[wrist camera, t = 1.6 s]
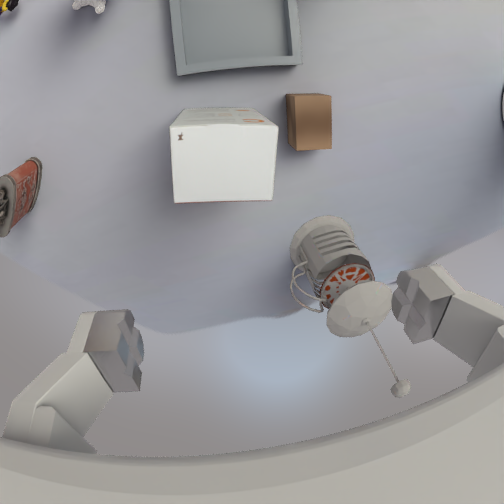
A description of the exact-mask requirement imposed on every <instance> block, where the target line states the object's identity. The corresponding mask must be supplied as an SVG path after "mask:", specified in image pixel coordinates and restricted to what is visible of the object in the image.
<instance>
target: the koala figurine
mask: <svg viewBox="0 0 504 504" xmlns="http://www.w3.org/2000/svg"><path fill="white" fill-rule="evenodd" d="M105 3H106V0H75V2H74V3H73V4H72V6H73V9H74V10H78V9H80V8H81V7H82V6H87V5H90V6H94V7H95V12H96V13H97V14H100V13H102V12H103V11H104V9H105Z"/></svg>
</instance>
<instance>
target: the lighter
mask: <svg viewBox="0 0 504 504" xmlns="http://www.w3.org/2000/svg"><path fill="white" fill-rule="evenodd" d="M41 177H42V163H41V161H40V160H39V159H38V158H35V157H31V158H30V159H28V160H26V161H25V163H24V164H22V165H21V166H19V167H18V168H16V169H15V170H13V171H12V172H10V173H9V174H5V175H3V176H1V177H0V237H5V236H7V234H8V233H9V232H10V229H11V228H12V227H13V226H14V225H15V224H16V223H17V222H18V221H19V220H20V219H21V218H22V217H23V216H24V215H25V214H26V213H29V212H30V211H31V210H32V209H33V207H34V204H35V202H36V200H37V196H38V193H39V189H40V183H41Z"/></svg>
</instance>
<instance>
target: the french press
mask: <svg viewBox="0 0 504 504" xmlns="http://www.w3.org/2000/svg"><path fill="white" fill-rule="evenodd" d="M355 246H356V244H355V243H354V234H353V231H352V229H351V227H350V225H349V224H348V223H347V222H345V221H344V220H343V219H342V218H339V217H335V216H330V215H328V216H322V217H316V218H314V219H312V220H310V221H309V222H307V223H305V224H303V225H302V227H301V228H300V229H299V230H298V231H297V232H296V234H295V235H294V237H293V240H292V242H291V245H290V255H291V260H292V261H293V263H294V264H295V267H294V269H293V271H292V280H291V283H290V290H291V294H292V296H293V298H294V299H295V301H297V302H298V303H299V304H300V305H301V306H303V307H305V308H307V309H309V310H311V311H315V312H318V313H320V312H323V310H324V309H323V307H322V304H323V306H324V307H326V308H328V309H329V310H328V313H327V326H328V328H329V330H330V332H331V333H333V334H335V335H337V336H339V337H355V336H359V335H362V334H364V333H366V332H368V331H371V333H372V335H373V336H374V338H375V340H376V342H377V344H378V346H379V348H380V350H381V351H382V353H383V355H384V357H385V359H386V361H387V363H388V365H389V367H390V369H391V371H392V373H393V375H394V377H395V379H396V381H397V383H396V384H394V385H393V386H392V388H391V392H392V394H393V395H394V396H395V397H398V398H401V397H403V396H405V395H407V394H408V393H409V391H410V389H411V385H410V382H409V381H408V379H404V380H401V381H399V380H398V378H397V376H396V374H395V372H394V370H393V368H392V366H391V364H390V363H389V360H388V359H387V357H386V355H385V353H384V351H383V349H382V347H381V345H380V344H379V341H378V340H377V338H376V336H375V334H374V332H373V330H372V329H373V328H375V327H377V326H378V325H379V324H380V323H381V322H382V321H383V320H384V319H385V318H386V316H387V314H388V313H389V311H390V310H391V307H392V304H391V300H392V296H393V295H392V291H391V289H390V288H389V287H388V286H386V285H385V284H384V283H382V282H376V281H374V280H375V277H374V274H373V272H372V270H371V267H370V264H369V261H368V260H367V259H366V257H365V256H364V254H363V253H362V252H361V251H360V250H359V248H358V246H356V247H355ZM357 248H358V249H357ZM344 264H346V265H344ZM296 268H298V269H300V270H301V271H303V273H300V274H298V275H296V276H295V277H294V273H295V269H296ZM305 273H306V275H307V278H308V280H309V282H310V284H311V286H312V289H313V291H314V290H315V291H316V292H317V293H319V294H320V296H319V295H318V294H317V293H316V292H315V291H314V293H315V295H316V297H313V296H311V295H310V294H308V293H306V292H304V291H303V290H302V289H301V288H299V287H298V285H297V283H296V281H295V279H296V278H297V277H298V276H301V275H303V274H305ZM310 276H311V277H313V278H315V279H317V280H319V279H325V280H324V282H318V281H316V280H314V279H312V278H311V277H310ZM312 281H313V282H315V283H317V284H319V285H322V286H321V287H319V286H317V285H315V284H314V283H313V282H312ZM293 282H294V284H295V286H296V288H298V289H299V290H300V291H301V292H303V293H304V294H305V295H307V296H308V297H310V298H312V299H316V300H320V308H321V310H316V309H312V308H310V307H308V306H306V305H304V304H302V303H301V302H300V301H299V300H298V299H297V298H296V297H295V295H294V293H293V290H292V284H293ZM314 286H315V287H316V288H318V289H320V291H318V290H316V289H315V288H314Z"/></svg>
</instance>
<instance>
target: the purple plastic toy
mask: <svg viewBox="0 0 504 504" xmlns="http://www.w3.org/2000/svg"><path fill="white" fill-rule="evenodd" d="M18 1H19V0H6V1H5V2H4V0H0V14H1V12H4V11H6V10H7V9H8V10H9V11H12V10H13V9H14V8H15V7H16V6H17V5H18Z"/></svg>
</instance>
